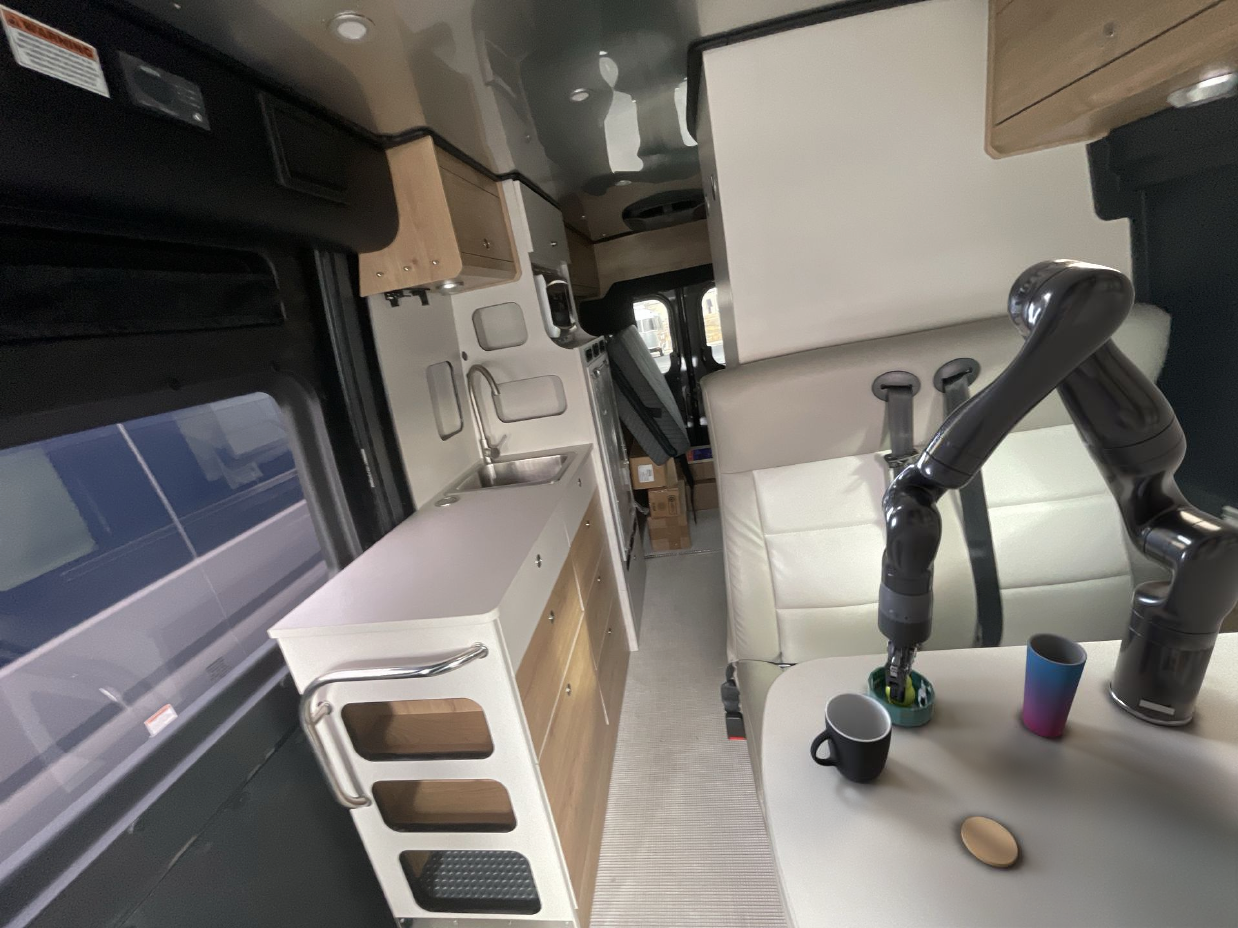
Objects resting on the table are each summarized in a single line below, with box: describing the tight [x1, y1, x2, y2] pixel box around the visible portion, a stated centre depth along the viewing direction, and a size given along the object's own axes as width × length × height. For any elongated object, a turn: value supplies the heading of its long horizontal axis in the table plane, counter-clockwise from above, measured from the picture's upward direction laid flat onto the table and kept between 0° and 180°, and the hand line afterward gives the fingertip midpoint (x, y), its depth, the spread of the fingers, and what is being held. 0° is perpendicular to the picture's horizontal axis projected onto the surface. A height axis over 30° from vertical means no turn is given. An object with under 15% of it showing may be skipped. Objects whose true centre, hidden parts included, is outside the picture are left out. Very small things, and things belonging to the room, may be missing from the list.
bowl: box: [866, 665, 936, 728], centre depth 89 cm, size 10×10×4 cm
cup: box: [1021, 632, 1088, 739], centre depth 80 cm, size 7×7×15 cm
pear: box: [886, 675, 915, 708], centre depth 89 cm, size 4×4×8 cm
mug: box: [809, 692, 893, 784], centre depth 79 cm, size 12×9×10 cm
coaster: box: [960, 816, 1019, 868], centre depth 69 cm, size 6×6×1 cm
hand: (900, 689), depth 89 cm, fingers closed on pear, 4 cm apart
